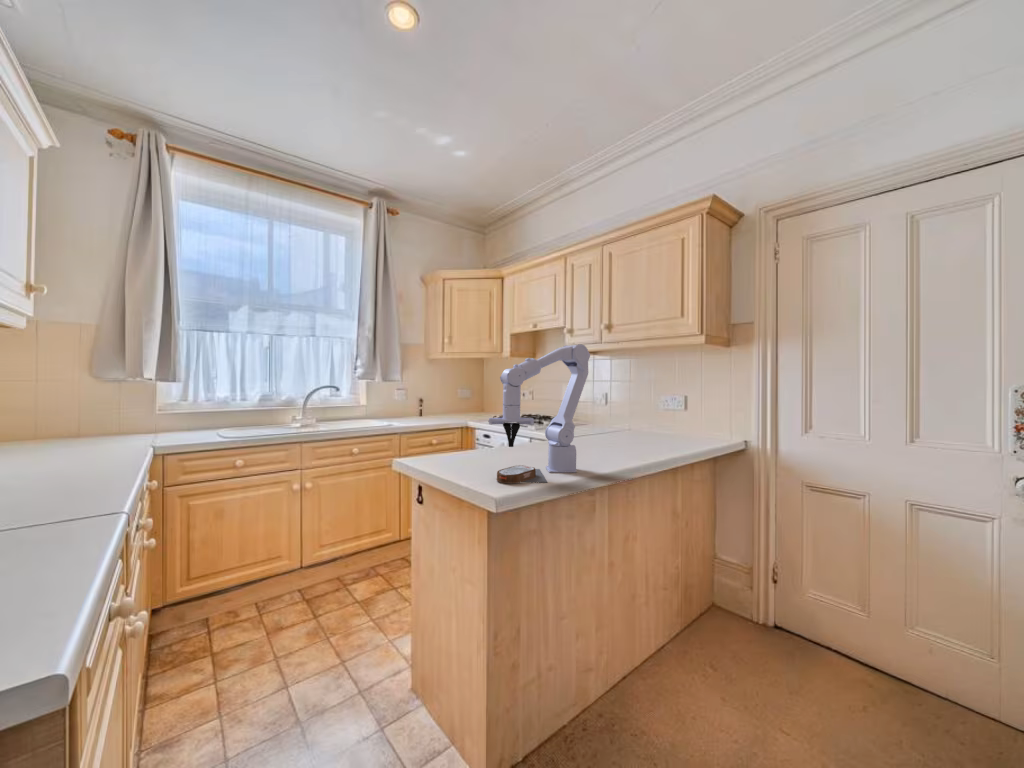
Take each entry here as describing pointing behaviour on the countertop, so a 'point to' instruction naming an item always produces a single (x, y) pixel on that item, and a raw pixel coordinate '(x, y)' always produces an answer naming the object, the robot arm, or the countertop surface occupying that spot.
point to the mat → (537, 477)
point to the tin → (516, 474)
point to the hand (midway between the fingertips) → (510, 446)
